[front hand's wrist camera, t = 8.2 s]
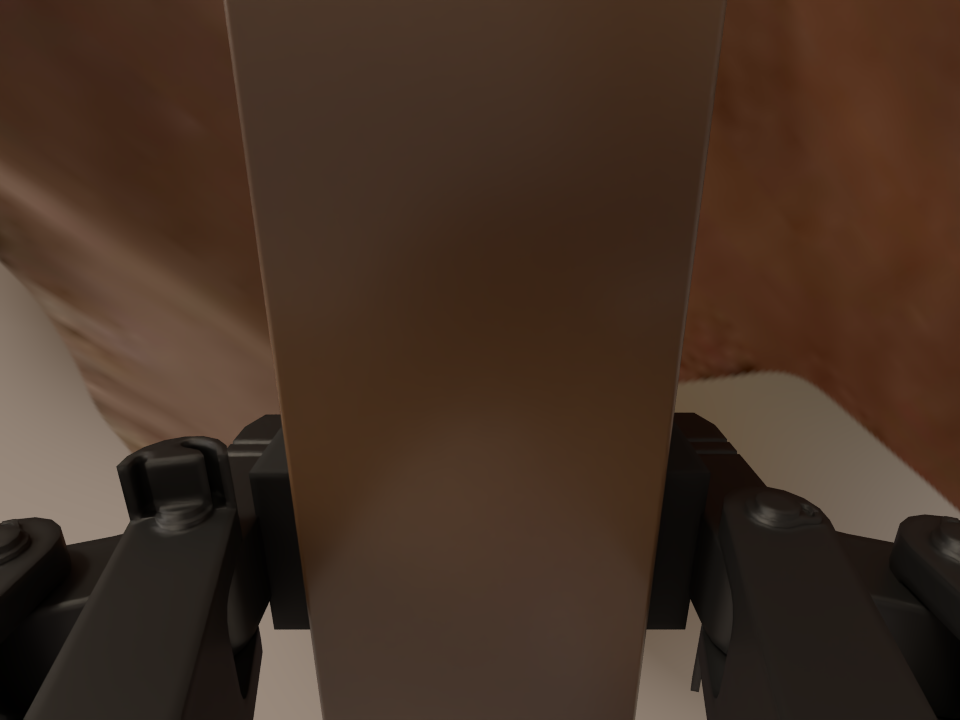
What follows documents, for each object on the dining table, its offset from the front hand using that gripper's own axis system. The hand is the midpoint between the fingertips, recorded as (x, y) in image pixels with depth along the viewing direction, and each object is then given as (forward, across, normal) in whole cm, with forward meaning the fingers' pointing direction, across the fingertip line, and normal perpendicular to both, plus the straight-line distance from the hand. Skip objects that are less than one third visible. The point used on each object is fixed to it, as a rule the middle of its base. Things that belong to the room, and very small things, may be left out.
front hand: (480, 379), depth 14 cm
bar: (+1, 0, -30) cm, 30 cm away
